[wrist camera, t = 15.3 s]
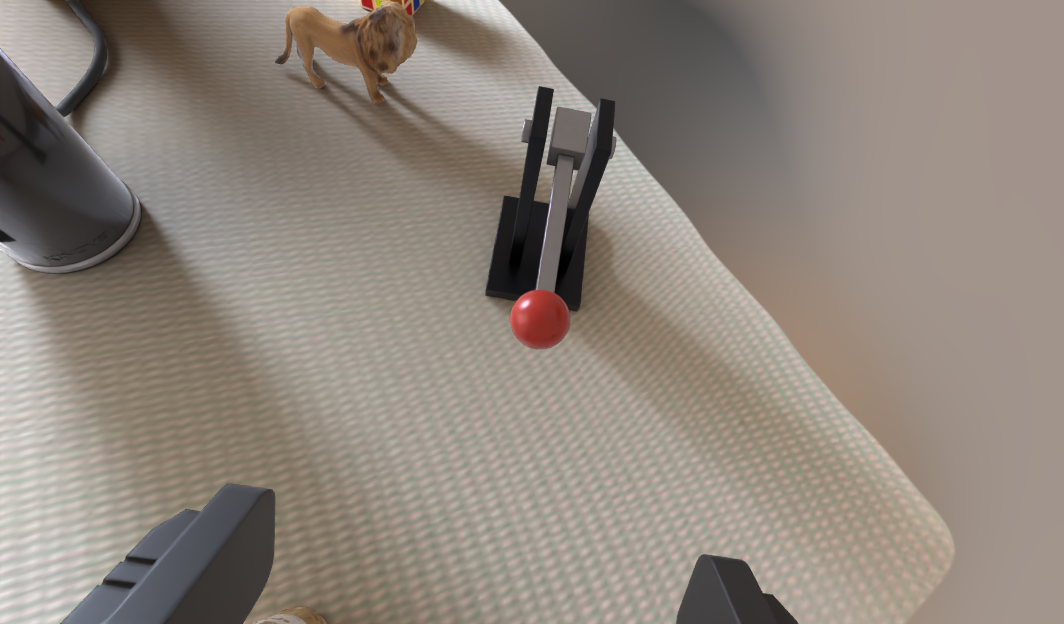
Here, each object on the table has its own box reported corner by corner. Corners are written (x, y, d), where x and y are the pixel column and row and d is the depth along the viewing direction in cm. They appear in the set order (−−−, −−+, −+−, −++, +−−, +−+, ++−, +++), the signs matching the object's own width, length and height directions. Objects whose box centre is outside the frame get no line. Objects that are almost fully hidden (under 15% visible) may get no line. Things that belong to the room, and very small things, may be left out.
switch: (560, 356, 32) (570, 350, 28) (504, 347, 31) (506, 340, 28) (592, 139, 34) (604, 109, 31) (541, 129, 34) (547, 98, 31)
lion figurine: (426, 77, 53) (420, -8, 45) (415, 113, 50) (407, 29, 42) (285, 51, 52) (253, -42, 44) (267, 86, 49) (229, -5, 41)
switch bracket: (577, 311, 43) (634, 192, 29) (485, 295, 42) (497, 166, 28) (586, 218, 47) (639, 75, 33) (503, 203, 47) (521, 51, 33)
